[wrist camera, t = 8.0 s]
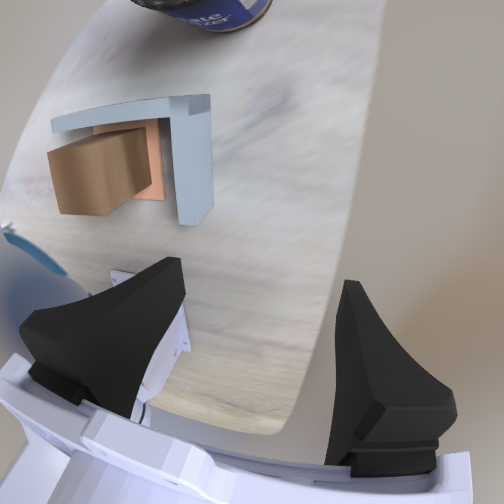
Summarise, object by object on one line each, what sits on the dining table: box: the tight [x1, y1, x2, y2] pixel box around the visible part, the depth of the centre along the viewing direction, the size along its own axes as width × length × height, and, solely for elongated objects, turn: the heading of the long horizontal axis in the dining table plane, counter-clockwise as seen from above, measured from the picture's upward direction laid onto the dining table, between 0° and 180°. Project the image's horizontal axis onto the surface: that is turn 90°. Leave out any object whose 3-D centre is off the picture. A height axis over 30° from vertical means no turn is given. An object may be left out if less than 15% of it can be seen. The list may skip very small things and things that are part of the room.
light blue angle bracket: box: [51, 94, 214, 226], centre depth 19 cm, size 8×12×4 cm
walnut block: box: [47, 127, 152, 216], centre depth 18 cm, size 4×4×6 cm
